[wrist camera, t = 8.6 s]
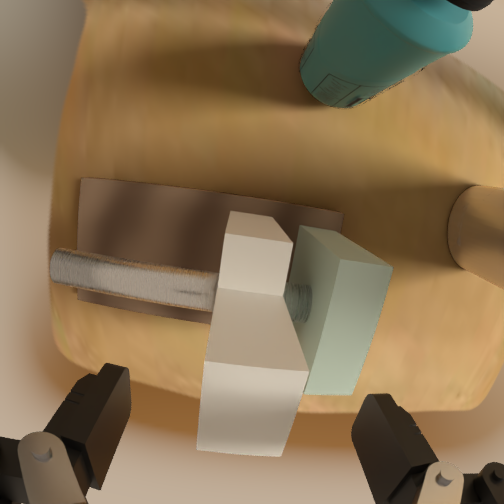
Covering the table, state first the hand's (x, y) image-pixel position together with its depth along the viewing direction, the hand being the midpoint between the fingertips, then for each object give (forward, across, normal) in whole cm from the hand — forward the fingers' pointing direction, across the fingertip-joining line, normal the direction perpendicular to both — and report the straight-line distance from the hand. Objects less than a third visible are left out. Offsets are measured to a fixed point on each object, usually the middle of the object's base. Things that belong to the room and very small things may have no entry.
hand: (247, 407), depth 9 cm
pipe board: (+18, +4, 0) cm, 18 cm away
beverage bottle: (+18, -5, -17) cm, 25 cm away
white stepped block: (+15, 0, 0) cm, 15 cm away
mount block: (+17, -5, 0) cm, 17 cm away
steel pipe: (+11, +4, 0) cm, 12 cm away
